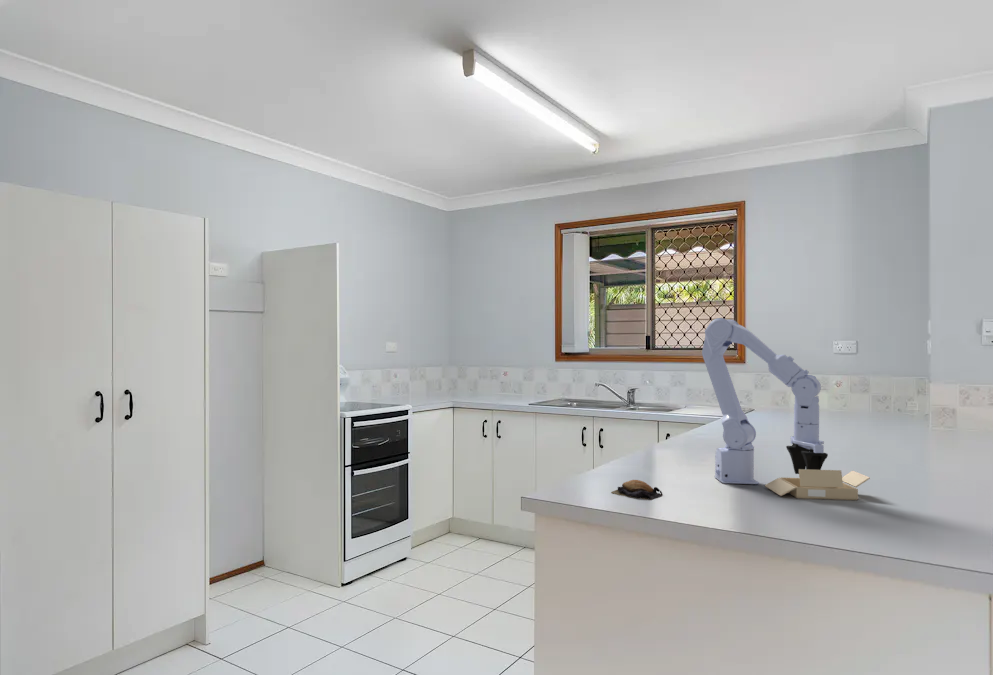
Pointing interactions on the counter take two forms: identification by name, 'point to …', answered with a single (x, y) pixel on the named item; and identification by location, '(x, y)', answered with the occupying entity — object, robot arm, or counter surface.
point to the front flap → (820, 478)
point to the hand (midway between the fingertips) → (806, 476)
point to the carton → (811, 490)
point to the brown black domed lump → (637, 490)
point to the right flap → (855, 478)
